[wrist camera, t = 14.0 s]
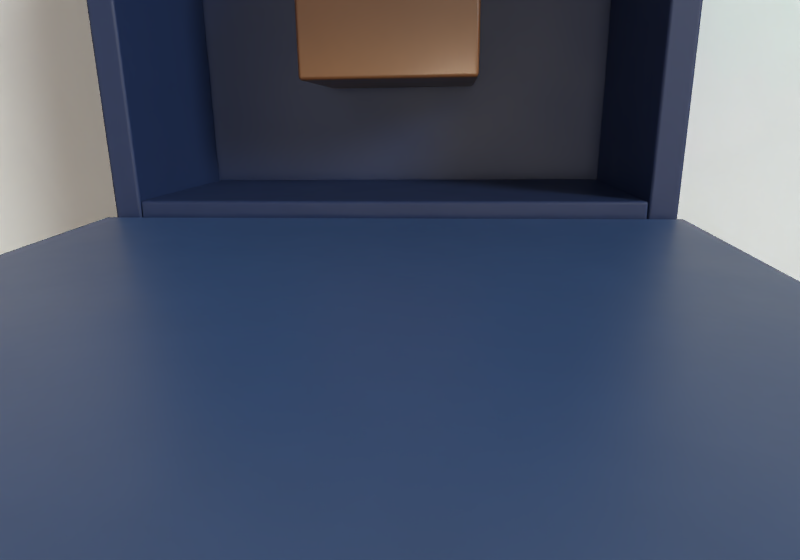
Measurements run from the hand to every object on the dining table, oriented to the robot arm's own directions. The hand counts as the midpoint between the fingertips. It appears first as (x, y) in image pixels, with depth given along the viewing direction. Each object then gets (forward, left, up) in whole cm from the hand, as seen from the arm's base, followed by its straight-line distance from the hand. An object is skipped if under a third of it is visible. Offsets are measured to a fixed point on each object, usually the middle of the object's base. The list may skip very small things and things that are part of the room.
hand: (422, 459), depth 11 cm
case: (+6, +6, -8) cm, 12 cm away
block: (+7, +6, -7) cm, 12 cm away
